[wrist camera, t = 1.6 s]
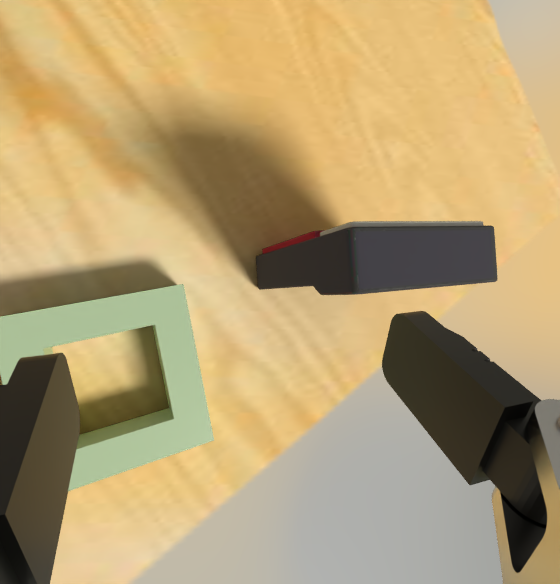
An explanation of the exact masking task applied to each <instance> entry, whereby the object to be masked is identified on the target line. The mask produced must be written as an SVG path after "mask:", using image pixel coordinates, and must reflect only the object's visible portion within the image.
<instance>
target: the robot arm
mask: <svg viewBox="0 0 560 584" xmlns="http://www.w3.org/2000/svg"><path fill="white" fill-rule="evenodd" d="M382 368H383V372H384V376H385V378H386V380H387V382H388V383H389V385H391V387H392V388H393V389H394V391H395V392H396V393H397V395H398V396H399V397H400V398H401V400H402V401H403V402H404V403H405V405H406V406H407V407H408V408H409V410H410V411H411V412H412V413H413V414H414V416H415V417H416V418H417V419H418V421H419V422H420V423H421V425H422V426H423V427H424V428H425V430H426V431H427V432H428V434H429V435H430V436H431V437H432V438H433V440H434V441H435V442H436V443H437V445H438V446H439V447H440V448H441V450H442V451H443V452H444V454H445V455H446V456H447V457H448V458H449V460H450V461H451V462H452V464H453V465H454V466H455V467H456V469H457V470H458V471H459V472H460V474H461V475H462V476H463V477H464V479H465V480H466V481H467V482H468V484H469V485H473V484H476V483H480V482H483V481H486V480H491V481H492V482H493V484H495V488H494V490H493V493H492V503H493V510H494V518H495V525H496V533H497V540H498V547H499V554H500V562H501V570H502V577H503V584H560V400H554V399H548V400H543V401H541V400H540V399H539V398H538V397H536V396H535V395H534V394H533V393H531V392H530V391H529V390H527V389H526V388H525V387H524V386H523V385H521V384H520V383H519V382H518V381H516V380H515V379H514V378H513V377H512V376H510V375H509V374H508V373H507V372H505V371H504V370H503V369H502V368H501V367H499V366H498V365H497V364H496V363H494V362H490V359H489V358H488V357H487V356H486V355H484V354H483V353H482V352H481V351H477V348H476V347H474V346H473V345H472V344H471V343H470V342H468V341H467V340H466V339H465V338H464V337H462V336H460V335H458V334H456V333H454V332H452V331H450V330H448V329H446V328H445V327H443V326H442V325H441V324H440V323H439V322H438V321H436V320H435V319H434V318H433V317H431V316H430V315H429V314H428V313H426V312H424V311H418V312H409V313H401V314H396V315H395V316H394V317H393V318H392V321H391V325H390V329H389V333H388V338H387V342H386V346H385V351H384V355H383V360H382ZM79 432H80V413H79V407H78V402H77V399H76V395H75V391H74V387H73V383H72V379H71V375H70V371H69V367H68V364H67V360H66V357H65V355H64V354H63V353H56V354H48V355H39V356H31V357H22V358H20V359H19V360H18V362H17V364H16V366H15V368H14V371H13V373H12V375H11V377H10V379H9V381H8V383H7V384H6V385H0V584H50V580H51V575H52V570H53V565H54V559H55V554H56V549H57V544H58V539H59V534H60V529H61V524H62V519H63V514H64V509H65V504H66V499H67V494H68V489H69V484H70V479H71V474H72V469H73V464H74V459H75V454H76V449H77V444H78V439H79Z"/></svg>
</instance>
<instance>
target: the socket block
mask: <svg viewBox="0 0 560 584" xmlns="http://www.w3.org/2000/svg"><path fill="white" fill-rule="evenodd" d="M151 325H152V326H153V331H154V336H155V341H156V346H157V351H158V356H159V361H160V365H161V370H162V375H163V380H164V385H165V390H166V395H167V400H168V405H169V408H167V409H164V410H161V411H157V412H154V413H151V414H147V415H144V416H141V417H137V418H134V419H131V420H127V421H124V422H121V423H117V424H114V425H111V426H107V427H104V428H101V429H97V430H94V431H91V432H87V433H84V434H81V435H79V439H78V444H77V449H76V454H75V459H74V464H73V469H72V474H71V479H70V484H69V489H68V491H70V490H73V489H76V488H79V487H81V486H84V485H87V484H90V483H93V482H96V481H99V480H102V479H104V478H107V477H110V476H113V475H116V474H119V473H122V472H125V471H127V470H130V469H133V468H136V467H139V466H142V465H145V464H147V463H150V462H153V461H156V460H159V459H162V458H165V457H168V456H170V455H173V454H176V453H179V452H182V451H185V450H188V449H191V448H193V447H196V446H199V445H202V444H205V443H208V442H211V441H214V438H213V432H212V427H211V422H210V417H209V412H208V407H207V402H206V397H205V392H204V387H203V382H202V376H201V371H200V366H199V361H198V356H197V351H196V346H195V341H194V336H193V331H192V326H191V321H190V315H189V310H188V305H187V300H186V295H185V290H184V285H183V284H181V285H175V286H169V287H164V288H158V289H153V290H147V291H141V292H136V293H130V294H125V295H119V296H113V297H108V298H102V299H97V300H91V301H85V302H80V303H74V304H68V305H63V306H57V307H52V308H46V309H40V310H35V311H29V312H24V313H18V314H12V315H7V316H1V317H0V375H1V379H2V384H3V385H6V384H7V383H8V381H9V379H10V377H11V375H12V373H13V371H14V368H15V366H16V364H17V362H18V360H19V359H20V358H22V357H31V356H39V355H48V354H53V352H52V347H53V346H57V345H62V344H67V343H71V342H76V341H81V340H86V339H90V338H95V337H100V336H104V335H109V334H114V333H118V332H123V331H128V330H132V329H137V328H142V327H146V326H151Z"/></svg>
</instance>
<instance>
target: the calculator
mask: <svg viewBox="0 0 560 584" xmlns="http://www.w3.org/2000/svg"><path fill="white" fill-rule="evenodd" d="M262 252H263V254H262V255H259V256H257V257H256V265H257V278H258V288H259V289H274V288H289V287H303V286H314V288H315V289H316V290H317V291H318V292H319V293H320V294H321V295H352V294H366V293H377V292H388V291H399V290H410V289H421V288H432V287H443V286H454V285H465V284H476V283H487V282H495V281H497V265H496V250H495V236H494V227H493V226H483V222H481V221H365V222H349V223H346V224H343V225H340V226H337V227H334V228H331V229H328V230H321V231H313V232H310V233H307V234H304V235H301V236H299V237H296V238H293V239H290V240H287V241H284V242H281V243H278V244H276V245H273V246H270V247H267V248H264V249H262Z"/></svg>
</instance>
